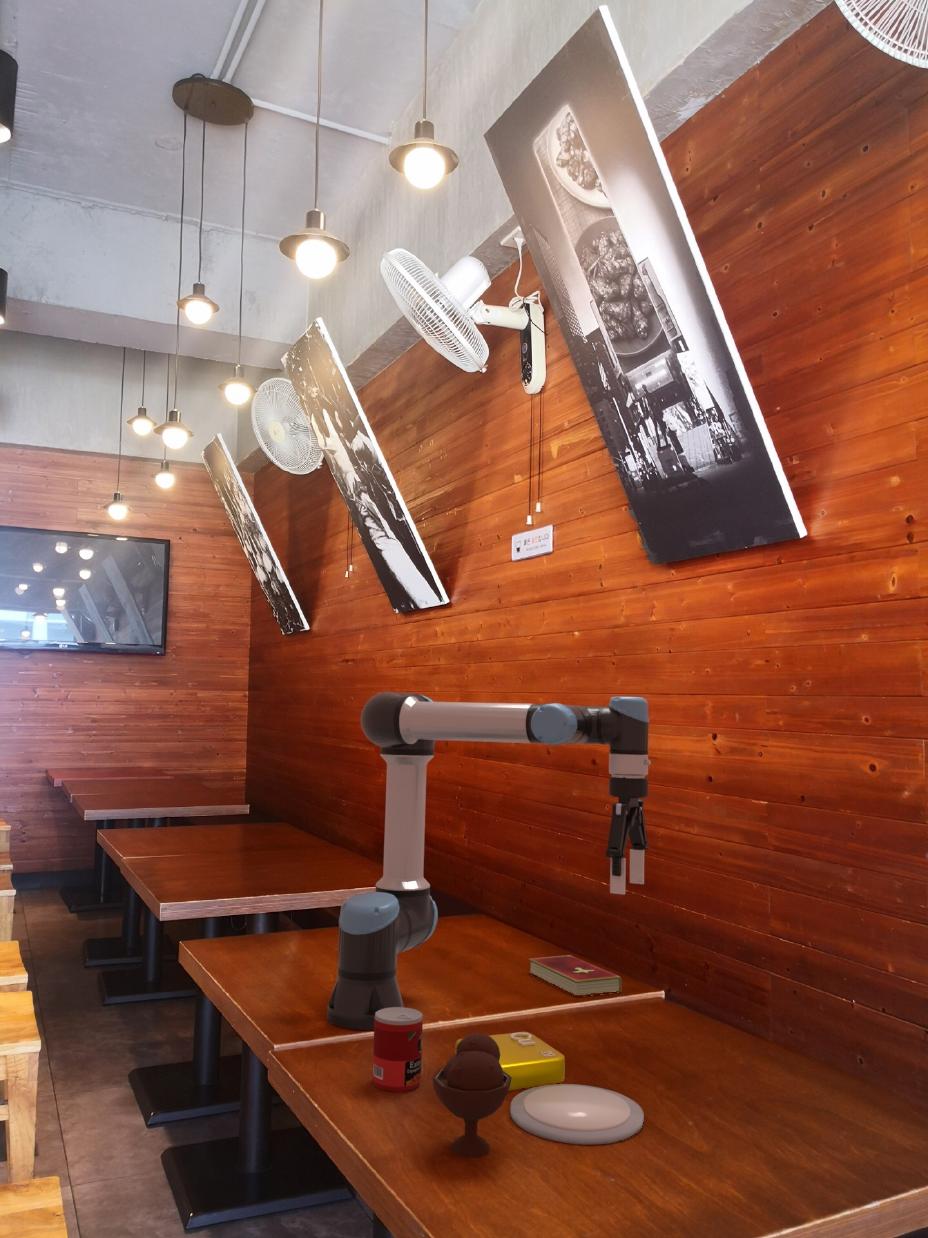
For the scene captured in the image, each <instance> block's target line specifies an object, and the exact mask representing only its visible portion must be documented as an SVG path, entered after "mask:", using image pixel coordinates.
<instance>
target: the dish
mask: <svg viewBox="0 0 928 1238" xmlns="http://www.w3.org/2000/svg"><path fill="white" fill-rule="evenodd" d="M510 1117H511V1119H512V1121H513V1122H514V1123H515V1124H516V1125H517V1126H518V1127H519V1128H521V1129H523V1130H524V1131H525V1132H528V1133H529V1134H532V1135H534V1136H537V1137H538V1138H539V1137H540V1138H541V1139H542V1138H543V1139H546V1140H549V1141H554V1142H558V1143H564V1144H569V1145H571V1144H572V1145H584V1146H585V1145H586V1146H587V1145H595V1146H596V1145H605V1144H606V1145H607V1144H614V1143H618V1142H620V1141H619V1140H622V1141H625V1140H627V1139H626V1138H628V1137H630V1136H632V1135H634V1134H635V1133H637V1132H638V1131H639V1130H640V1129H641V1128H642V1129H643V1127H644V1124H643V1122H644V1119H645V1118H644V1117H645V1115H644V1111H643V1109H642V1107H641V1106H640V1105H639V1104H638V1103H637V1102H636V1101H635V1100H633V1099H631V1098H629V1097H627V1096H625V1095H623V1094H621V1093H619V1092H616V1091H614V1090H610V1089H605V1088H602V1087H597V1086H592V1085H587V1084H586V1085H585V1084H584V1085H583V1084H574V1083H571V1084H570V1083H560V1084H553V1085H544V1086H539V1087H532V1088H527V1089H526V1090H525V1089H524V1090H523V1091H522V1092H520V1093H518V1094H517V1095H515V1096H514V1097H513V1098H512V1099H511V1102H510ZM644 1123H645V1122H644ZM642 1126H643V1127H642ZM642 1129H641V1130H642ZM641 1130H640V1131H641ZM640 1131H639V1132H640ZM637 1134H638V1133H637ZM634 1136H635V1135H634ZM632 1137H633V1136H632ZM630 1138H631V1137H630ZM624 1139H625V1140H624ZM628 1139H629V1138H628ZM617 1141H618V1142H617ZM613 1142H614V1143H613Z"/></svg>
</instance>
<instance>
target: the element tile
mask: <svg viewBox="0 0 928 1238" xmlns="http://www.w3.org/2000/svg"><path fill="white" fill-rule="evenodd" d="M489 1036H490V1037H491V1038H492V1039H493V1040H494V1041H495V1042H496V1043H497V1045H498V1047H499V1050H500V1059H499V1063H500V1065H501V1067H502V1069H503V1071H504V1072H506V1073H507V1074H508V1075H509V1076H511V1077H512V1079H511V1084H510V1089H509V1091H515V1090H523V1089H522V1088H525V1089H531V1088H530V1087H532V1088H534V1087H535V1086H542V1085H546V1084H547V1085H548V1084H555V1083H558V1082H562V1081H564V1079H566V1078H565V1076H566V1075H565V1072H566V1057H565V1054H562V1053H561V1052H560V1051H558V1050H557V1049H555V1048H553V1047H552V1046H551V1045H549V1044H547V1043H546V1042H545V1041H543V1040H542V1039H540V1038H539V1037H537V1036H535V1035H534V1034H533V1033H531V1032H528V1031H518V1032H509V1033H503V1034H502V1033H500V1034H492V1035H489ZM462 1039H463V1038H459V1039H457V1040H456V1041H455V1049H456V1048H457V1046H458V1044H459V1042H460V1041H461V1040H462ZM564 1082H565V1081H564ZM509 1091H508V1092H509Z"/></svg>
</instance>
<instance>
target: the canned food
mask: <svg viewBox="0 0 928 1238" xmlns="http://www.w3.org/2000/svg"><path fill="white" fill-rule="evenodd" d="M423 1020H424V1017H423V1013H422V1012H421V1011H420V1010H417V1009H415V1008H411V1007H405V1006H404V1007H391V1008H384V1009H381V1010H378V1011H377V1012H376V1013H375V1022H374V1029H373V1052H372V1053H373V1055H372V1081H373V1084H374V1086H375V1087H376V1088H377V1089H379V1090H380V1091H381V1090H382V1091H385V1092H390V1093H392V1092H393V1093H405V1092H410V1091H412V1090H415V1089H417V1088H418V1087H419V1086H420V1083H421V1080H422V1058H423V1057H422V1052H423V1026H424V1023H423Z"/></svg>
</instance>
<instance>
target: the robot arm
mask: <svg viewBox="0 0 928 1238" xmlns="http://www.w3.org/2000/svg"><path fill="white" fill-rule="evenodd" d="M360 725H361V729H362V732H363V734H364V735H365V737H366V738H367V739H368V740H369V741H370V742H371V743H373V744H374V745H375V746H378V747H380V757H381V758H382V759H383V760H384V761H385V763H386V784H385V785H386V787H385V788H386V789H385V811H384V812H385V814H384V815H385V816H384V817H385V818H384V841H383V843H384V844H383V867H382V869H383V875H382V877H381V878H380V879H379V880H378V881H376V883H375V891H369V892H366V893H358V894H355V895H351V896H349V897H347V898H346V899H345V900H344V901H343V902H342V904H341V906H340V913H339V914H340V915H339V917H338V926H339V928H338V957H337V959H338V960H337V962H338V963H337V979H336V982H335V984H334V986H333V989H332V992H331V995H330V999H329V1002H328V1004H327V1007H326V1008H327V1011H326V1014H327V1015H326V1019H327V1021H328V1023H330V1024H331V1025H334V1026H336V1027H340V1028H344V1029H348V1030H349V1029H351V1030H358V1031H359V1030H365V1031H368V1030H374V1022H375V1013H376V1012H377V1011H378V1010H381V1009H384V1008H391V1007H404V1008H405V1006H404V1002H403V999H402V995H401V992H400V988H399V984H398V979H397V968H398V967H397V964H398V963H397V962H398V961H397V960H398V954H400V953H404V952H406V951H407V950H411V949H415V948H417V947H419V946H421V945H422V944H423V943H424V942H426V941H427V940H428V939H429V938H430V937H431V936H432V935H433V933H434V931H436V930H435V929H436V926H437V923H438V916H439V915H438V914H439V911H438V907H437V904H436V901H435V900H433V898H432V896H431V894H430V893H431V884H430V883H429V882H428V880H426V878H424V877H425V876H424V870H425V869H424V867H425V865H424V864H425V863H424V861H425V860H424V859H425V830H426V829H425V828H426V795H427V767H428V763H429V762H430V761H431V760H432V759H433V758H434V756H435V743H436V742H437V741H457V742H458V741H459V742H486V743H488V742H490V743H491V742H492V743H514V744H515V743H518V744H538V745H540V744H541V745H542V744H543V745H549V746H560V745H603V746H606V745H608V748H609V750H608V751H609V753H608V754H609V755H608V773H609V774H610V775H611V776H610V778H608V795H609V796H610V797H613V798H618V800H617V802H616V803H612V809H611V810H612V811H611V821H610V827H609V834H608V840H607V841H608V842H607V846H606V847H607V848H606V851H605V857H606V858H610V863H609V864H610V865H609V866H610V867H609V873H610V875H609V893H610V894H613V895H614V894H615V895H626V876H627V875H626V870H627V868H626V865H627V864H626V863H627V862H626V860H627V859H626V858H625V853H626V847H627V844H628V838H629V842H630V847H631V849H629V884H634V885H635V884H636V885H644V884H645V850H647V851H648V850H649V847H650V845H649V844H648V838H647V836H648V835H647V830H646V829H647V828H646V820H645V813H644V799H646V798H647V797H648V796H649V780H648V778H647V777H645V776H647V775H649V766H650V765H651V764H652V762H651V760H650V759H649V755H648V754H649V730H650V729H649V727H650V719H649V702H648V701H647V699H646V698H644V697H642V696H641V697H639V696H612V697H611V698H610V700H609V704H608V706H588V705H587V706H584V705H572V704H571V705H570V704H562V703H556V702H549V703H516V702H515V703H511V702H509V703H507V702H506V703H505V702H467V701H465V702H464V701H463V702H461V701H459V702H458V701H455V702H453V701H434V700H432V699H431V698H429V697H427V696H425V695H421V694H419V693H413V692H411V693H408V692H407V693H406V692H395V691H384V692H380V693H378V694H375V695H373V696H372V697H370V699H368V700H367V702H366V703H365V704H364V706H363V707H362V711H361V715H360Z"/></svg>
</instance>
